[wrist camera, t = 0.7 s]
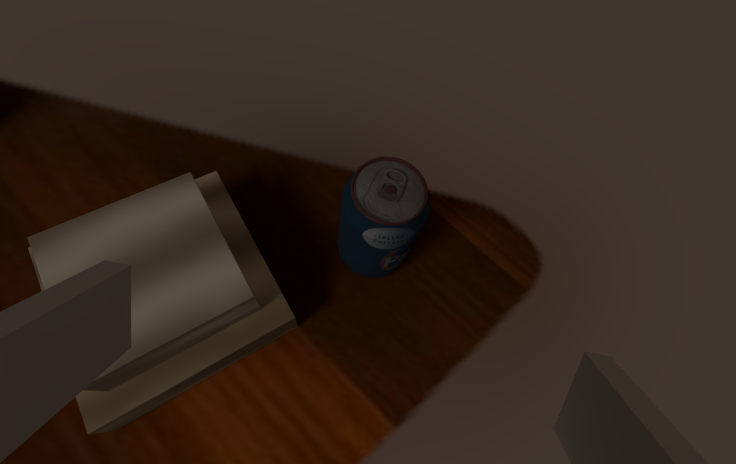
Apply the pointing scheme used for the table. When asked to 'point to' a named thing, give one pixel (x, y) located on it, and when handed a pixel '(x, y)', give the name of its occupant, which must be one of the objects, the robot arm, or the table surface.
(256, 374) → the table surface
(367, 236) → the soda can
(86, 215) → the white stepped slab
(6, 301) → the table surface
